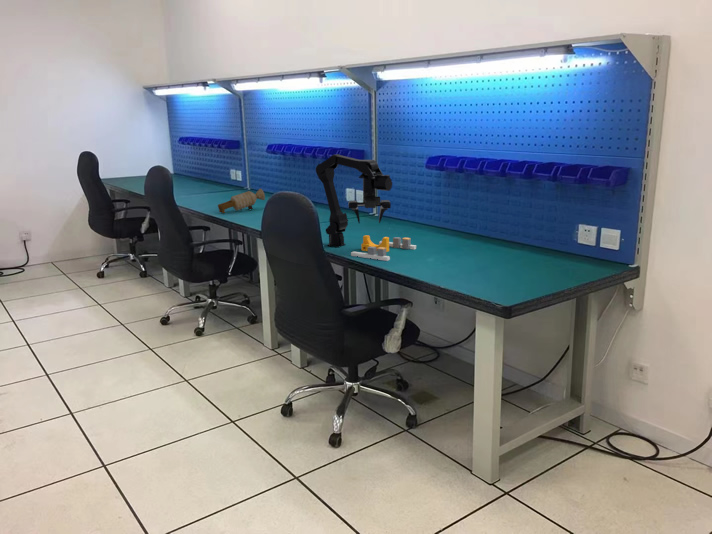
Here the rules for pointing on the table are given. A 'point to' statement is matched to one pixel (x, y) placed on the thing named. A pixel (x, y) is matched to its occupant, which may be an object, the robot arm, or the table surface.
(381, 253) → the collar track
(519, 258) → the table surface
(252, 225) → the table surface
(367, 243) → the pipe clamp
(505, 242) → the table surface
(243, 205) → the brown toy figure
